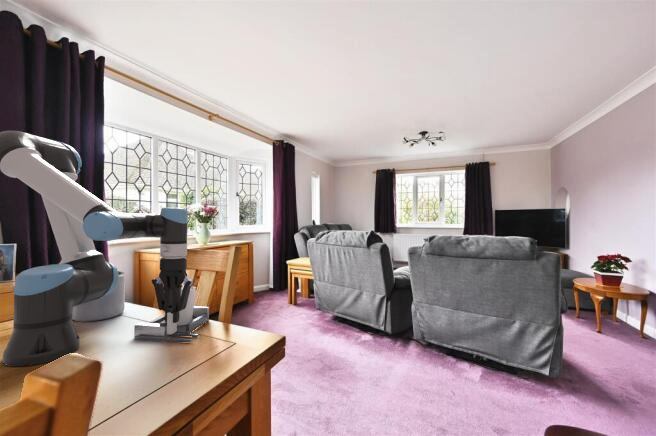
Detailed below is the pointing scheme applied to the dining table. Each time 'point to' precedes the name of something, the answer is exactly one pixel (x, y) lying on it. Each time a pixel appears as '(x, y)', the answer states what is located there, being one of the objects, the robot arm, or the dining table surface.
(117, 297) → the planter
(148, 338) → the guide
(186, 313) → the cup
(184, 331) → the grey rail tray
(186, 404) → the dining table surface
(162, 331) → the grey flat block
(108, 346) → the dining table surface
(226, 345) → the dining table surface
